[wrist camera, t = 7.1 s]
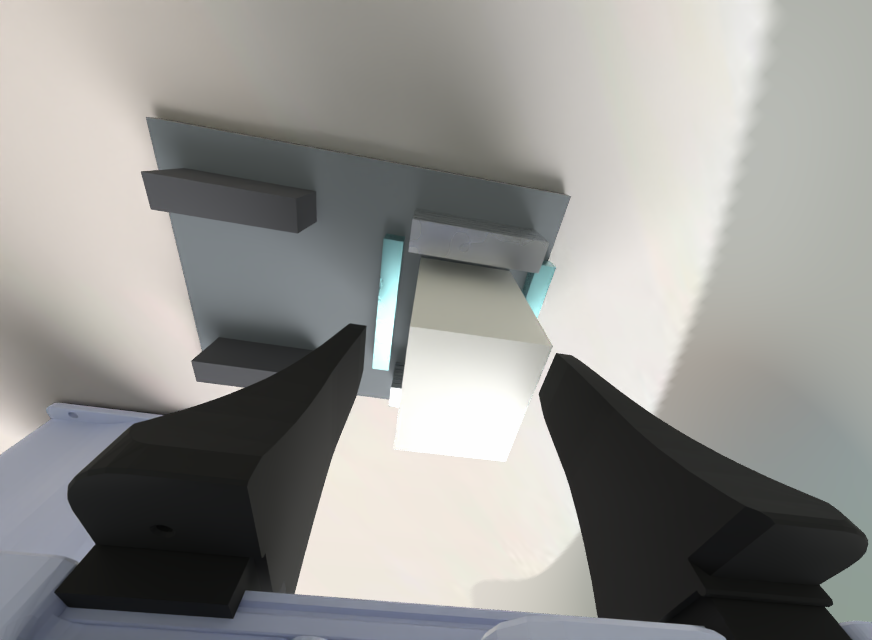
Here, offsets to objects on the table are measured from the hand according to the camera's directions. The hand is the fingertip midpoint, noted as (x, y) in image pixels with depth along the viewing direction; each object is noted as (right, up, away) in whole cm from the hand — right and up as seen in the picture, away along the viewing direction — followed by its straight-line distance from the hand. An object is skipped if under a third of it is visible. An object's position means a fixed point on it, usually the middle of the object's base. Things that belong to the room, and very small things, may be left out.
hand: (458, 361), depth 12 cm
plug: (0, +2, +3) cm, 4 cm away
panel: (-4, +3, +3) cm, 6 cm away
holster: (-9, +3, +3) cm, 10 cm away
